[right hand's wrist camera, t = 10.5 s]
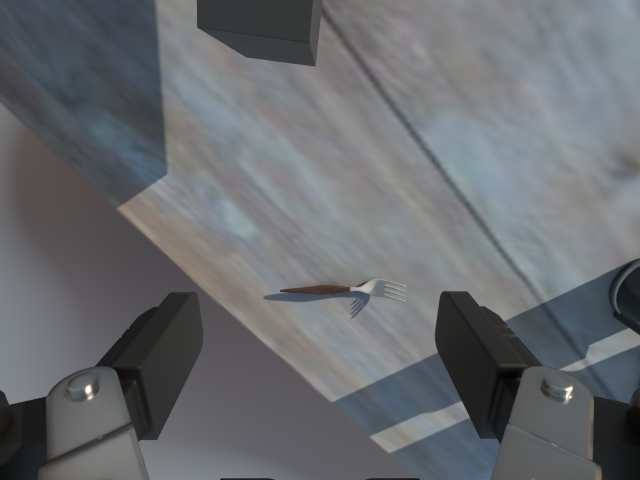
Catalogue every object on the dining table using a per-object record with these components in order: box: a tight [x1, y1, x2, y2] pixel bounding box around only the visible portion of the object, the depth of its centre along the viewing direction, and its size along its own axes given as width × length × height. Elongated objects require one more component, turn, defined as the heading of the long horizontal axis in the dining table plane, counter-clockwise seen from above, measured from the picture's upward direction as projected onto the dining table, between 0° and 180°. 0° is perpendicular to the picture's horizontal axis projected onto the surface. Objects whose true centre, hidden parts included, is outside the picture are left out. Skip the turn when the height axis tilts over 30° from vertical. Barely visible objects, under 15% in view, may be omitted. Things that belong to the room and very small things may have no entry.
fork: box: [280, 279, 406, 302], centre depth 44 cm, size 3×16×2 cm, turn 91°
